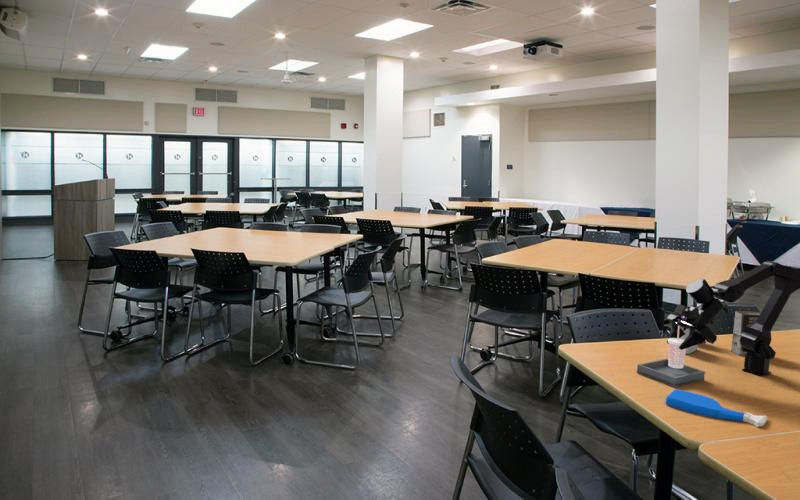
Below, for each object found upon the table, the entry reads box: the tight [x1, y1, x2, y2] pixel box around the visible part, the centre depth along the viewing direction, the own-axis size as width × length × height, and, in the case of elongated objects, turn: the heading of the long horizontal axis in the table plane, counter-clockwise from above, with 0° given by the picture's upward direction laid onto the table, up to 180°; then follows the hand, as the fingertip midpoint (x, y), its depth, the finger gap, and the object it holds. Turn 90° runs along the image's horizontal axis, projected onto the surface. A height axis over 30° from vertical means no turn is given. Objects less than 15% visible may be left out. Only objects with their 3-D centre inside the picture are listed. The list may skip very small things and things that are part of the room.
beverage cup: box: [667, 326, 686, 369], centre depth 186 cm, size 6×6×14 cm
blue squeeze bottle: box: [665, 389, 768, 428], centre depth 159 cm, size 3×11×24 cm
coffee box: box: [730, 310, 761, 357], centre depth 212 cm, size 9×6×16 cm
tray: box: [636, 358, 706, 388], centre depth 187 cm, size 15×15×3 cm
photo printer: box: [680, 329, 699, 355], centre depth 215 cm, size 10×4×12 cm, turn 134°
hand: (673, 346), depth 186 cm, fingers closed on beverage cup, 6 cm apart
